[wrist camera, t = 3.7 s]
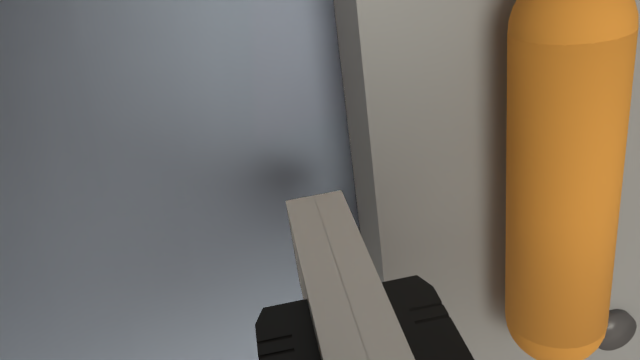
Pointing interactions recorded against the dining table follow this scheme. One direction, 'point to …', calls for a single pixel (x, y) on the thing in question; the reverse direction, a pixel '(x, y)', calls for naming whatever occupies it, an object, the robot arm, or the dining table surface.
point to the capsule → (565, 168)
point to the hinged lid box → (456, 162)
